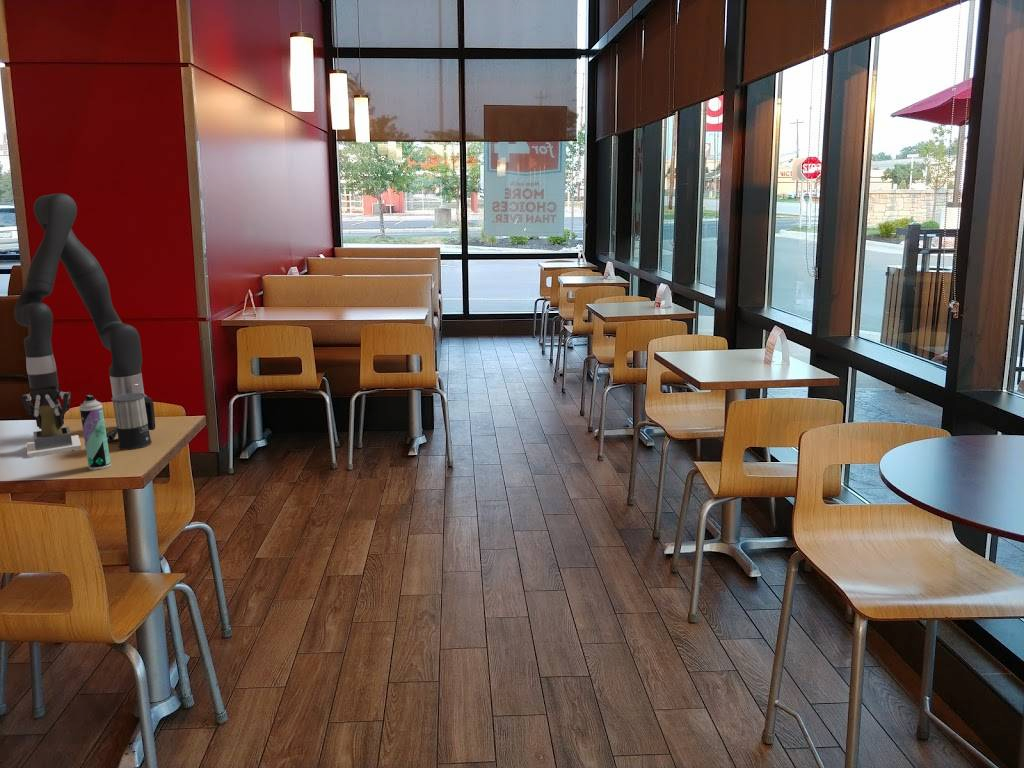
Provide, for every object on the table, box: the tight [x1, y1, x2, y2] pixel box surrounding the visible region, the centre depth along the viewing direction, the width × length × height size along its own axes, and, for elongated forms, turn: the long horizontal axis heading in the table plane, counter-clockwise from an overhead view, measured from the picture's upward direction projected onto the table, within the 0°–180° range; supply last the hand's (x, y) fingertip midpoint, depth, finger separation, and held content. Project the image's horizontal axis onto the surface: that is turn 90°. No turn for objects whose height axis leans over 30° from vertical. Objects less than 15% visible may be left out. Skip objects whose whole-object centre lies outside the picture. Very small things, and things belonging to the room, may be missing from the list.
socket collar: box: [32, 426, 72, 451], centre depth 267 cm, size 10×10×4 cm
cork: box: [38, 404, 63, 437], centre depth 266 cm, size 6×6×11 cm
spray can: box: [79, 394, 112, 471], centre depth 244 cm, size 6×6×20 cm
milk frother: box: [106, 393, 156, 450], centre depth 267 cm, size 14×16×15 cm
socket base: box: [26, 434, 83, 458], centre depth 268 cm, size 14×14×1 cm
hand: (50, 427), depth 267 cm, fingers closed on cork, 4 cm apart
